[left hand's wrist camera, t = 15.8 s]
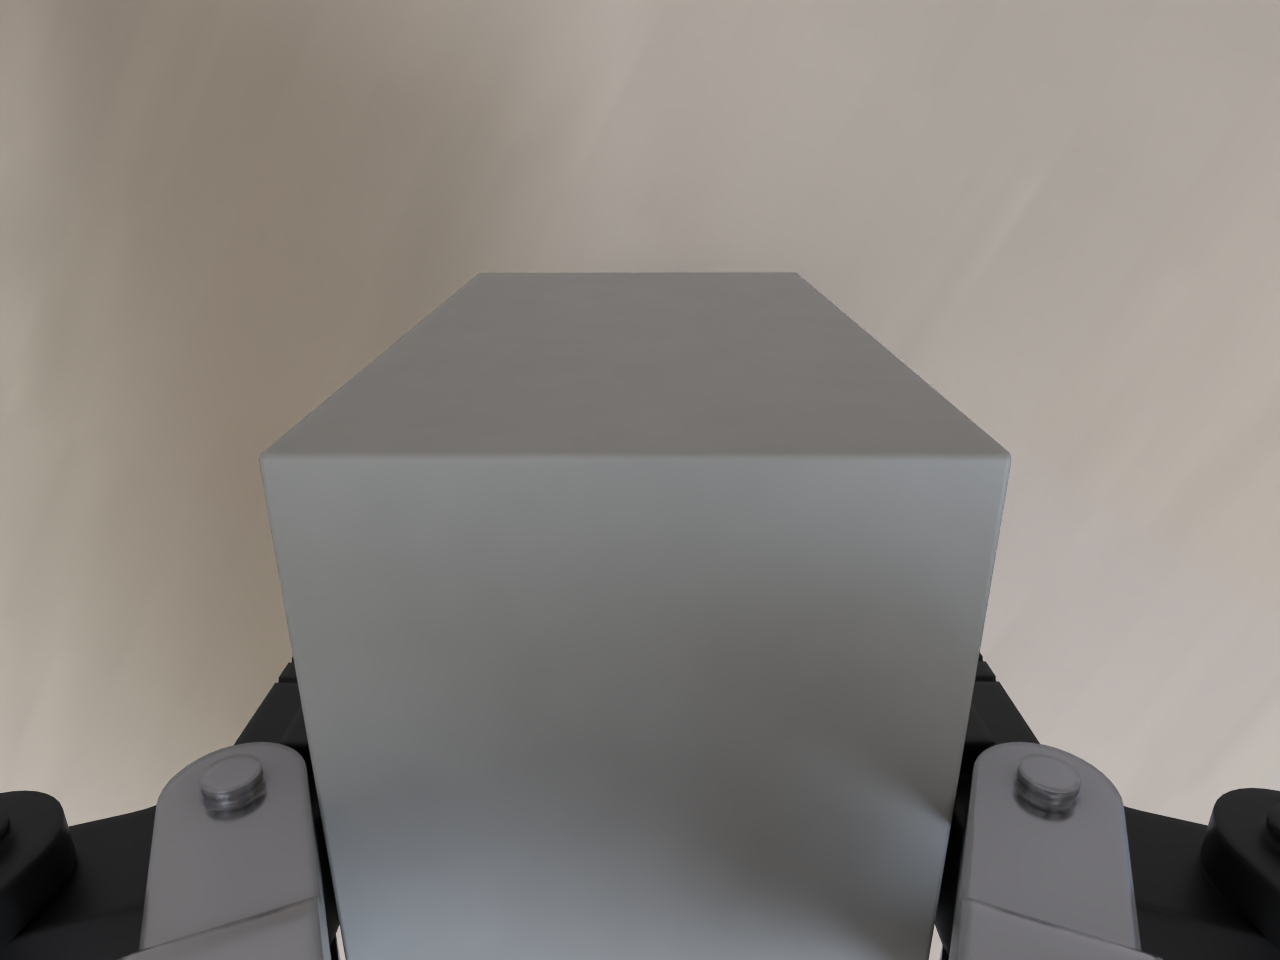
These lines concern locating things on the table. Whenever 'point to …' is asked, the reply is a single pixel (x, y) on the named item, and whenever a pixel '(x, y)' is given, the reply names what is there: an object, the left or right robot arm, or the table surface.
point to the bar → (636, 625)
